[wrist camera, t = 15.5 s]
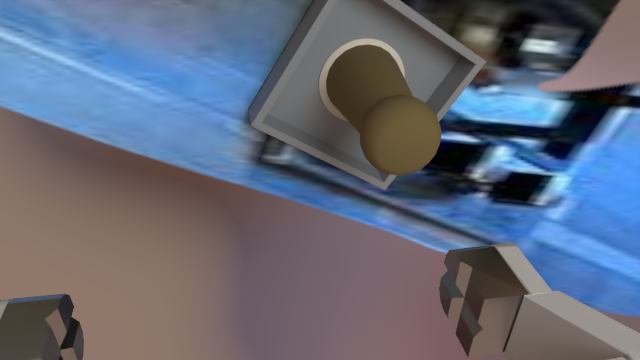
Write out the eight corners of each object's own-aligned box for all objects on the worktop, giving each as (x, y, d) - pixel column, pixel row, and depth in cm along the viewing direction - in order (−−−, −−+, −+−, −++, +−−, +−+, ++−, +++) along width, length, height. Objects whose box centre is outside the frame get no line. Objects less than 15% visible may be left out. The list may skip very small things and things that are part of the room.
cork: (310, 88, 39) (341, 159, 30) (362, 28, 37) (412, 84, 28) (363, 129, 42) (406, 204, 33) (414, 75, 40) (474, 139, 31)
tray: (248, 109, 40) (250, 125, 38) (339, -43, 35) (349, -35, 33) (375, 171, 46) (385, 190, 43) (469, 48, 41) (486, 61, 38)
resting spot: (317, 123, 41) (318, 124, 41) (319, 39, 37) (320, 40, 37) (398, 118, 42) (399, 119, 42) (408, 36, 39) (409, 37, 38)
